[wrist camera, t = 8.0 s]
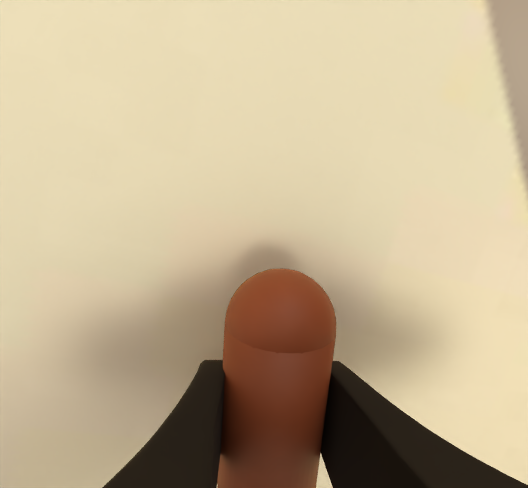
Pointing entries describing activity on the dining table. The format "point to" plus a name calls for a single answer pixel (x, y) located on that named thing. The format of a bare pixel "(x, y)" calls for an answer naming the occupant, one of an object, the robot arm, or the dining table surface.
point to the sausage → (275, 381)
